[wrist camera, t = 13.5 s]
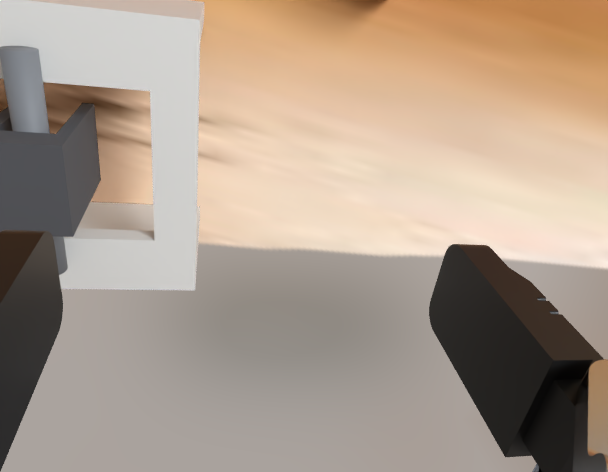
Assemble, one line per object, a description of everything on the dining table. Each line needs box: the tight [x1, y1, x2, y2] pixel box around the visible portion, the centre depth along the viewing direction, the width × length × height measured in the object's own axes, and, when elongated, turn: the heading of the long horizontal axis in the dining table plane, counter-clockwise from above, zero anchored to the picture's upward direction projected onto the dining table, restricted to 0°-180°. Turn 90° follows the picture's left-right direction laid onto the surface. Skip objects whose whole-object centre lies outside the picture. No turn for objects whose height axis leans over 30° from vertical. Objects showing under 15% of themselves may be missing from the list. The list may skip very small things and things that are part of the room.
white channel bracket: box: [0, 0, 204, 290], centre depth 37 cm, size 20×18×14 cm
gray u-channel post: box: [0, 103, 101, 237], centre depth 33 cm, size 6×5×9 cm
